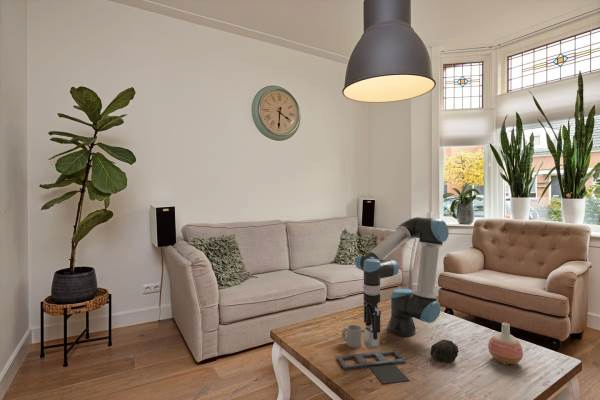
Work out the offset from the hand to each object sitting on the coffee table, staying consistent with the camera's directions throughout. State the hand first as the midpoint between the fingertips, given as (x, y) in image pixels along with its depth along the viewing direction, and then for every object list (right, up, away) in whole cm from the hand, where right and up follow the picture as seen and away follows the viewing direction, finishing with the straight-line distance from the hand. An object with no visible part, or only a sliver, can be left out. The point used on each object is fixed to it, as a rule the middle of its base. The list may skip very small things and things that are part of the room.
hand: (371, 342), depth 150 cm
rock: (+34, -9, +1) cm, 35 cm away
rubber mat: (+5, -9, -11) cm, 15 cm away
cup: (-7, -8, +16) cm, 19 cm away
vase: (+62, -9, 0) cm, 63 cm away
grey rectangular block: (0, -2, 0) cm, 2 cm away
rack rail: (0, -9, 0) cm, 9 cm away
